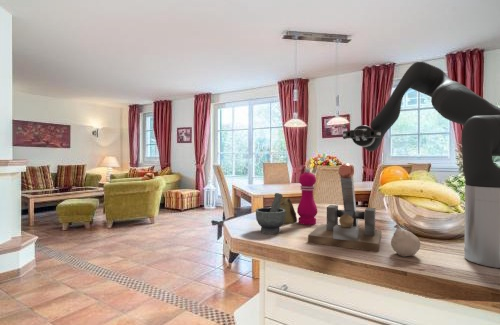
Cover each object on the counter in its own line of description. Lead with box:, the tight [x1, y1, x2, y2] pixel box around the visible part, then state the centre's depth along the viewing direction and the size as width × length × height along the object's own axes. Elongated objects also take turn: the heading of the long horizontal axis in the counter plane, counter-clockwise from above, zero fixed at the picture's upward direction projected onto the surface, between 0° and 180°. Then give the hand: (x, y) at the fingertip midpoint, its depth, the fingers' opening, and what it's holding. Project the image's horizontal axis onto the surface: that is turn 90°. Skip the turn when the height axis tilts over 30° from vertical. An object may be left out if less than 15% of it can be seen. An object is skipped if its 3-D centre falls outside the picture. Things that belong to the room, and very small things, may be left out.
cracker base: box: [307, 204, 382, 252], centre depth 84 cm, size 18×16×9 cm
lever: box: [337, 163, 365, 227], centre depth 80 cm, size 8×8×22 cm
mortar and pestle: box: [255, 192, 285, 235], centre depth 93 cm, size 11×9×12 cm
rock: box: [279, 197, 298, 224], centre depth 108 cm, size 10×8×10 cm
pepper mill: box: [296, 168, 318, 226], centre depth 105 cm, size 7×7×20 cm
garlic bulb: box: [390, 223, 421, 257], centre depth 70 cm, size 7×6×8 cm
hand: (358, 132), depth 92 cm, fingers closed
